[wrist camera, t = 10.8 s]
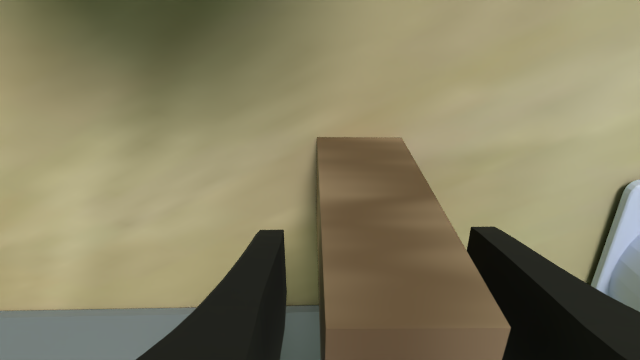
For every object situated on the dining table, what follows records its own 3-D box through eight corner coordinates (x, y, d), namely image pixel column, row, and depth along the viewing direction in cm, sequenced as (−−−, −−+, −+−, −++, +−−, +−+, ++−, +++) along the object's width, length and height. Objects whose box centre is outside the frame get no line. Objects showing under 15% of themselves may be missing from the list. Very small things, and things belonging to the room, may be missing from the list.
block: (401, 137, 15) (510, 327, 7) (394, 211, 16) (478, 444, 8) (317, 137, 15) (325, 329, 7) (316, 211, 16) (322, 446, 8)
